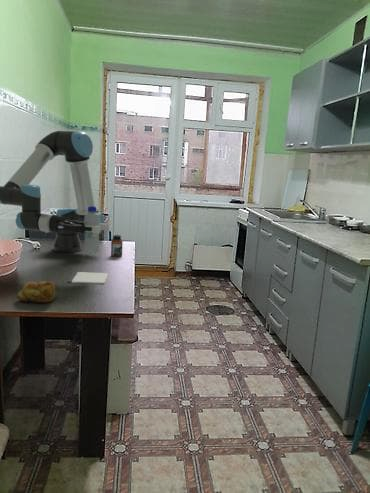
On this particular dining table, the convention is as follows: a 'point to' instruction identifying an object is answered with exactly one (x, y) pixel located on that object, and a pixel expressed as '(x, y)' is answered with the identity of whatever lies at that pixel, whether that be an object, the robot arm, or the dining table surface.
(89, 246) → the bottle
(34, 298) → the bread roll
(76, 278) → the mat
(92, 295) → the dining table surface
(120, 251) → the supplement bottle
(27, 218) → the robot arm
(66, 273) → the dining table surface
